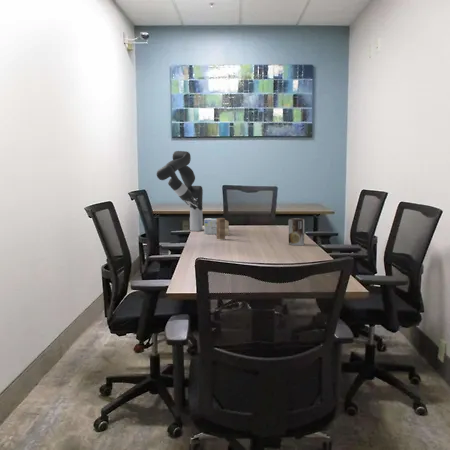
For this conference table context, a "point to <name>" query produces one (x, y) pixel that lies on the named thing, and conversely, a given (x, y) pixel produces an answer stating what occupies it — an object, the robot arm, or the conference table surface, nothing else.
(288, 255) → the conference table surface
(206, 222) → the light bulb box
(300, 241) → the coffee box
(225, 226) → the maple block
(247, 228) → the conference table surface
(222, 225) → the walnut block
